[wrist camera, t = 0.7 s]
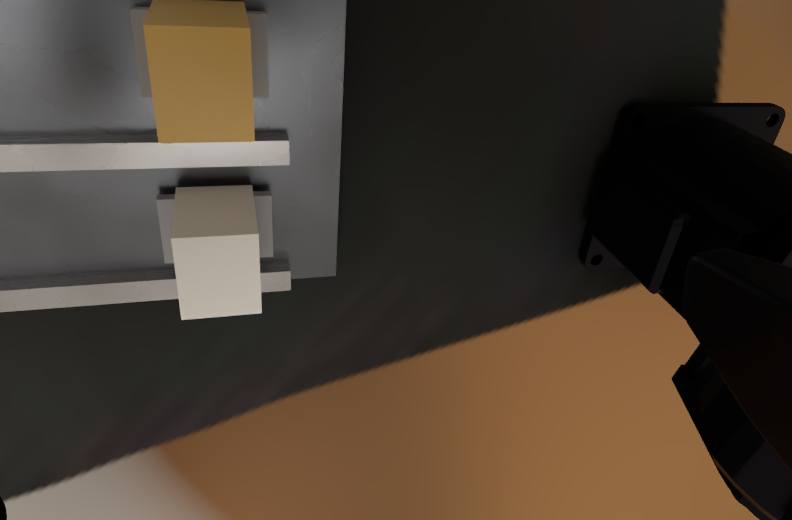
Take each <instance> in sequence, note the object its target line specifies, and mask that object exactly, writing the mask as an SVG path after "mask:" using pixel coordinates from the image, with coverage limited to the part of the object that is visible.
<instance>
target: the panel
mask: <svg viewBox="0 0 792 520" xmlns="http://www.w3.org/2000/svg"><path fill="white" fill-rule="evenodd" d="M214 1H238V2H244V4H245V8H246V11H263V12H266V13H267V41H268V78H269V98H253V106H254V131H255V142H211V143H158V136H157V128H156V121H155V113H154V105H153V98H142V95H141V88H140V81H139V74H138V67H137V60H136V52H135V45H134V38H133V31H132V24H131V17H130V7H131V6H133V7H150V5H151V3H152V0H0V312H10V311H23V310H36V309H49V308H63V307H76V306H89V305H102V304H115V303H128V302H141V301H155V300H168V299H179V298H178V290H177V282H176V275H175V267H174V263H165V260H164V253H163V246H162V239H161V232H160V225H159V217H158V210H157V203H156V197H157V195H166V194H175V190H176V187H205V186H236V185H252V188H253V191H271V195H272V229H273V257H262V258H260V278H261V292H273V291H286V290H291V279H298V278H312V277H326V276H336V258H337V232H338V206H339V181H340V155H341V129H342V103H343V78H344V52H345V26H346V0H214Z"/></svg>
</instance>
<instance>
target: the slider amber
mask: <svg viewBox="0 0 792 520" xmlns="http://www.w3.org/2000/svg"><path fill="white" fill-rule="evenodd" d="M130 17H131V24H132V31H133V38H134V45H135V52H136V60H137V67H138V74H139V81H140V88H141V95H142V98H153V105H154V113H155V121H156V128H157V136H158V143H211V142H255V131H254V106H253V98H269V78H268V41H267V13H266V12H263V11H246V8H245V4H244V2H238V1H214V0H152V3H151V5H150V7H133V6H131V7H130Z"/></svg>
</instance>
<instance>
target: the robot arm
mask: <svg viewBox="0 0 792 520" xmlns="http://www.w3.org/2000/svg"><path fill="white" fill-rule="evenodd" d="M638 115H640V117H639V119H638V121H637V122H636V123H634V124H633V120H634V118H635V117H636V116H638ZM769 117H770V118H769ZM768 118H769V119H768ZM784 118H785V110H784V109H783V108H782V107H779V106H777V105H775V104H772V103H634V104H631V105H629V106H628V107H626V109H625V110H624V111H623V112H622V114H621V116H620V119H619V123H618V126H617V130H616V133H615V136H614V140H613V143H612V147H611V150H610V154H609V157H608V161H607V164H606V167H605V169H604V172H603V175H602V179H601V182H600V186H599V189H598V193H597V196H596V200H595V203H594V207H593V210H592V213H591V217H590V220H589V224H588V230H587V233H586V236H585V240H584V243H583V247H582V250H581V254H580V261H581V263H582V264H583V265H584V266H585V267H586V268H587V269H588V270H590V271H598V270H611V269H624V268H626V269H627V270H628V271H629V272H630V273H631V274H632V275H633V276H634V277H635V278H636V279H637V280H638V281H639V282H640V283H641V284H642V285H643V286H644V287H645V288H646V289H647V290H649V292H651V293H653V294H656V293H658V294H659V295H660V296H662V298H664V299H665V300H666V301H667V302H668V303H669V304H670V305H671V306H672V307H673V308H674V309H675V310H676V311H677V312H678V313H679V314H680V315H681V316H682V317H683V318H684V319H685V320H686V321H687V323H688V325H689V327H690V328H691V330H692V331H693V333H694V334H695V336H696V338H697V339H698V340H699V342H700V344H699V346H698V347H697V349H696V350H695V351H694V353H693V354H692V355H691V357H690V358H689V360H688V361H687V362H686V364H685V365H681V366H680V367H679V368H678V370H677V371H676V373H675V374H674V375H673V377H672V381H673V383H674V385H675V386H676V389H677V391H678V393H679V395H680V397H681V398H682V400H683V402H684V404H685V406H686V408H687V410H688V412H689V414H690V416H691V418H692V420H693V422H694V424H695V426H696V428H697V430H698V432H699V434H700V436H701V438H702V440H703V442H704V444H705V446H706V447H707V450H708V452H709V454H710V456H711V458H712V460H713V462H714V464H715V466H716V468H717V470H718V472H719V473H720V475H721V476H722V478H723V480H724V481H725V483H726V485H727V486H728V488H729V489H730V490H731V492H732V494H733V496H734V497H735V499H736V500H737V501H738V502H739V503H741V504H742V505H743V506H745V507H746V508H747V509H748V510H749V511H750V512H752V513H753V514H754V515H755V516H756V517H757V518H759V519H760V520H792V154H791V153H789V152H787V151H785V150H783V149H781V148H779V147H777V146H775V145H773V144H774V142H775V139H776V137H777V135H778V133H779V130H780V128H781V126H782V124H783V121H784ZM767 119H768V120H767ZM595 255H597V256H596V257H595V258H594V259H592V257H594V256H595ZM591 259H592V260H591ZM0 520H7V514H6V508H5V504H4V502H3V500H2V498H1V497H0Z"/></svg>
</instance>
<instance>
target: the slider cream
mask: <svg viewBox="0 0 792 520" xmlns="http://www.w3.org/2000/svg"><path fill="white" fill-rule="evenodd" d="M156 203H157V210H158V217H159V225H160V232H161V239H162V246H163V253H164V260H165V263H174V267H175V275H176V282H177V290H178V298H179V305H180V313H181V320H187V319H199V318H211V317H223V316H235V315H246V314H258V313H262V303H261V278H260V258H262V257H273V229H272V195H271V191H253V188H252V185H236V186H205V187H176V190H175V194H166V195H157V197H156Z"/></svg>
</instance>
